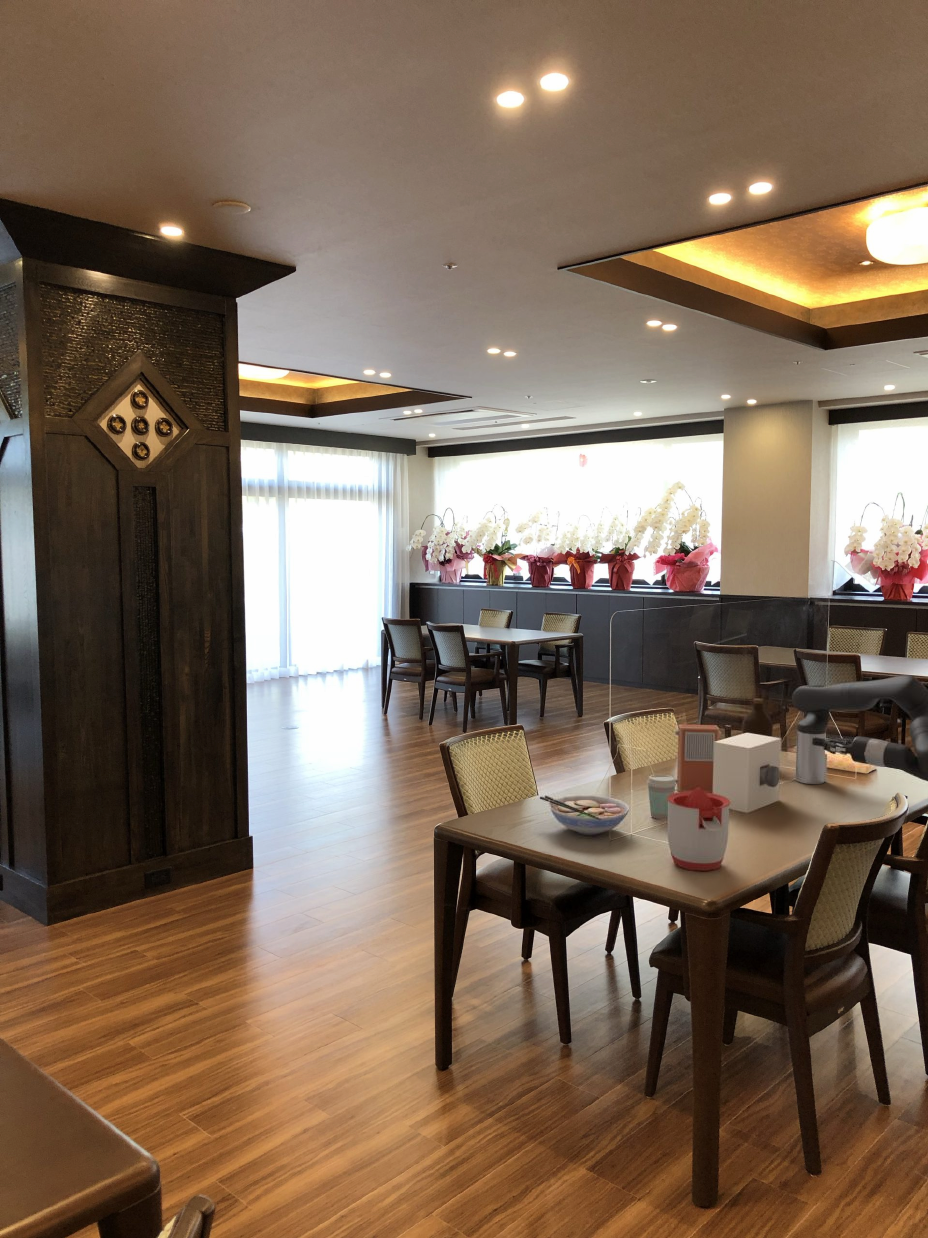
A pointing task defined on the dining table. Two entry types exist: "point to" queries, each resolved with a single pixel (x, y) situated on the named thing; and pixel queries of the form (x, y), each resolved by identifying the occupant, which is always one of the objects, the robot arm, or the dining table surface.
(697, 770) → the orange radio
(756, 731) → the olive oil
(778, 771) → the knob
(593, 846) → the dining table surface
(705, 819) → the citrus juicer
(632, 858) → the dining table surface
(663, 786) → the coffee cup
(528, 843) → the dining table surface
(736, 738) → the knob mount
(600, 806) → the ramen bowl
